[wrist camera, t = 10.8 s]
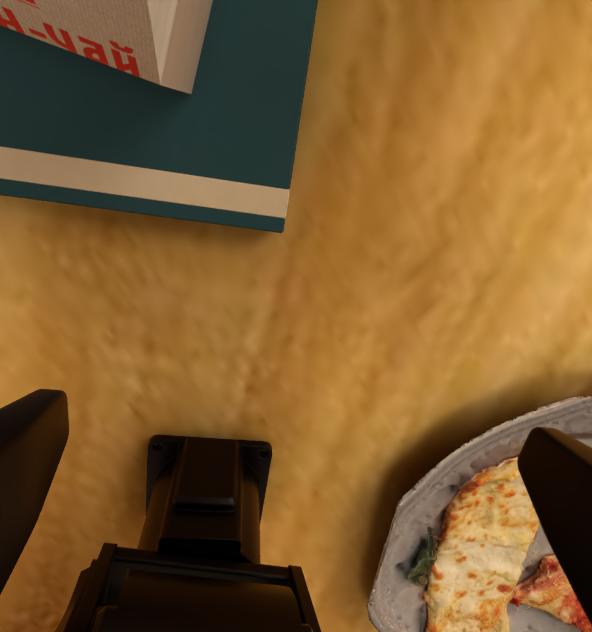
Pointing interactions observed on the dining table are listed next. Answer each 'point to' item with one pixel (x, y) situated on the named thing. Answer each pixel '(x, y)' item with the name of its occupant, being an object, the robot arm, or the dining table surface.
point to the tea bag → (121, 33)
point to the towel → (163, 122)
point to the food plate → (479, 542)
